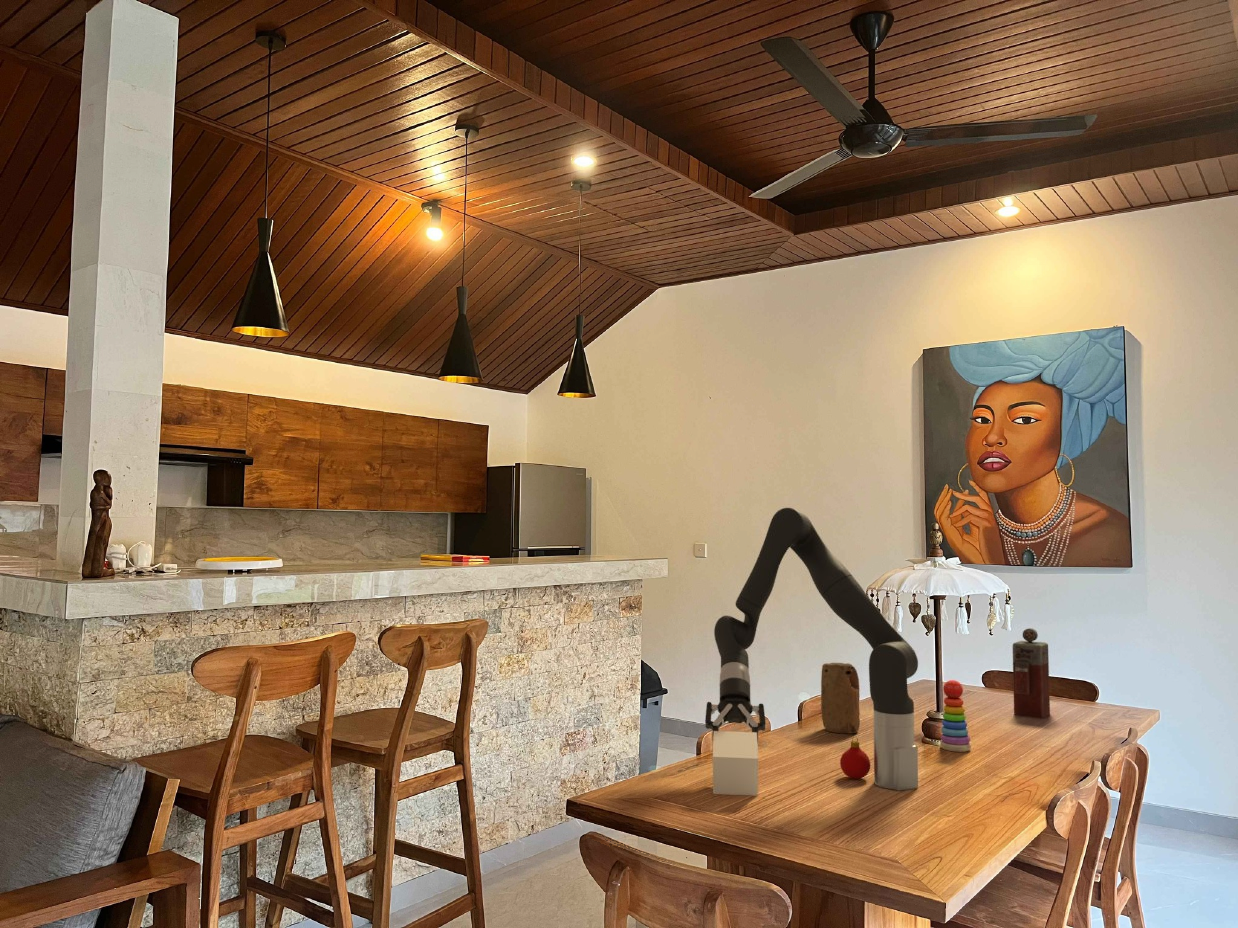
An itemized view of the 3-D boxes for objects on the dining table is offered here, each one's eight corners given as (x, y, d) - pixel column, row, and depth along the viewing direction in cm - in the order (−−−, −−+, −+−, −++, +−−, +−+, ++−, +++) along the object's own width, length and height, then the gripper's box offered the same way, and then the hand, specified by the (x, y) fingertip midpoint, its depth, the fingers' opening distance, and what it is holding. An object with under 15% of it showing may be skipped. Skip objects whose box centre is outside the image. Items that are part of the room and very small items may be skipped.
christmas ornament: (849, 783, 212) (849, 740, 213) (834, 775, 219) (834, 733, 220) (876, 781, 214) (875, 738, 215) (860, 773, 221) (860, 732, 221)
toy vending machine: (1011, 715, 291) (1009, 628, 293) (1021, 710, 300) (1019, 626, 302) (1041, 719, 285) (1038, 631, 287) (1050, 714, 294) (1048, 628, 296)
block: (819, 730, 267) (818, 663, 269) (829, 726, 273) (828, 660, 275) (854, 735, 261) (853, 666, 262) (863, 731, 267) (862, 663, 268)
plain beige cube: (713, 729, 209) (712, 756, 200) (756, 731, 208) (758, 758, 198) (713, 765, 212) (713, 793, 203) (756, 767, 211) (757, 795, 202)
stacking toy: (946, 744, 252) (944, 676, 253) (975, 748, 247) (973, 679, 248) (935, 749, 246) (934, 680, 247) (965, 754, 241) (964, 683, 242)
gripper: (705, 675, 220) (704, 733, 208) (764, 677, 218) (766, 735, 206) (706, 693, 225) (705, 751, 213) (763, 695, 223) (765, 753, 211)
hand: (735, 743), depth 209 cm, fingers open, 8 cm apart
